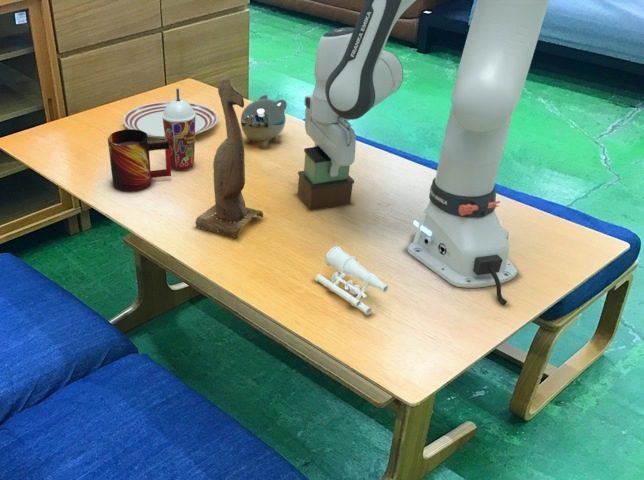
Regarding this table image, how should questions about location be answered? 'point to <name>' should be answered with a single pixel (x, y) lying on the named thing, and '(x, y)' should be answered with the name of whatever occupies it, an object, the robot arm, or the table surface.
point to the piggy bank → (263, 120)
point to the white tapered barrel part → (352, 268)
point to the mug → (134, 160)
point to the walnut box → (324, 192)
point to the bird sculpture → (228, 173)
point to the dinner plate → (152, 121)
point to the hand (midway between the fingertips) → (326, 168)
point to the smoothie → (180, 133)
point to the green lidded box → (321, 166)
